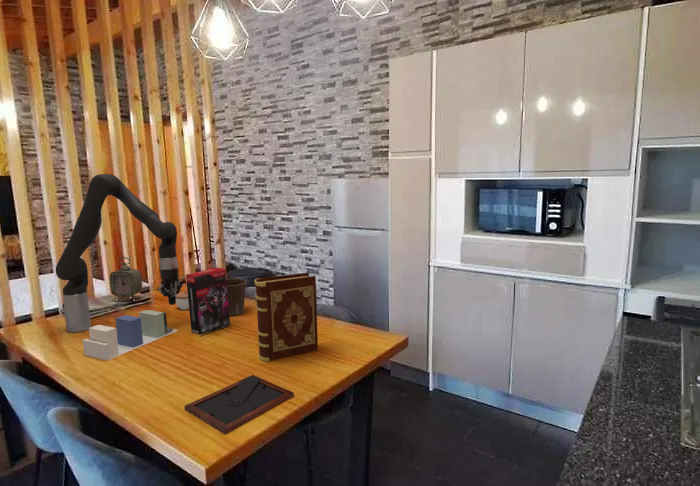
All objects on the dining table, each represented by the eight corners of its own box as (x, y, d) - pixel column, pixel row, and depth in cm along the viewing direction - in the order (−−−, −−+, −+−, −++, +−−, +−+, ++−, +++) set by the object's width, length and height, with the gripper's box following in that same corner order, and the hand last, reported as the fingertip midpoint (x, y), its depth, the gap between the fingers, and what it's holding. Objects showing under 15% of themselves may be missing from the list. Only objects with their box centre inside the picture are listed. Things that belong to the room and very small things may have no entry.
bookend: (151, 330, 186) (149, 310, 185) (158, 327, 190) (156, 308, 188) (165, 333, 182) (164, 313, 181) (173, 330, 186) (171, 310, 184)
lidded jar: (182, 304, 229) (181, 288, 228) (201, 305, 228) (199, 288, 226) (171, 311, 219) (170, 293, 217) (190, 311, 217) (189, 294, 216)
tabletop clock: (111, 302, 237) (107, 258, 233) (122, 297, 246) (118, 255, 242) (135, 302, 235) (130, 258, 231) (145, 298, 243) (141, 255, 240)
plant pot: (234, 306, 226) (232, 276, 223) (255, 311, 216) (253, 280, 214) (208, 314, 213) (206, 283, 210) (229, 320, 203) (227, 287, 201)
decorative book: (262, 362, 155) (258, 283, 150) (256, 355, 162) (252, 278, 157) (318, 350, 165) (316, 275, 160) (310, 343, 172) (308, 272, 167)
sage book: (140, 334, 182) (138, 312, 180) (148, 331, 186) (146, 309, 184) (157, 338, 178) (155, 315, 176) (165, 334, 181) (163, 312, 180)
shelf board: (84, 357, 162) (82, 340, 161) (157, 328, 192) (156, 313, 191) (107, 363, 156) (105, 345, 155) (178, 332, 187) (177, 317, 186)
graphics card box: (199, 337, 181) (195, 275, 176) (189, 334, 184) (184, 274, 180) (230, 326, 195) (227, 268, 191) (220, 323, 198) (217, 266, 194)
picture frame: (253, 379, 143) (184, 411, 124) (252, 373, 143) (184, 405, 124) (293, 397, 131) (225, 436, 112) (293, 391, 130) (224, 429, 111)
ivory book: (91, 354, 162) (88, 328, 161) (101, 350, 166) (98, 324, 164) (109, 358, 158) (106, 331, 156) (118, 354, 162) (116, 328, 160)
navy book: (118, 344, 172) (115, 318, 170) (127, 340, 176) (125, 315, 174) (133, 347, 168) (130, 321, 166) (143, 343, 172) (140, 317, 170)
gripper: (174, 263, 195) (177, 299, 198) (150, 269, 183) (154, 307, 186) (186, 264, 192) (189, 301, 195) (163, 270, 180) (166, 309, 183)
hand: (172, 304), depth 190 cm, fingers closed
